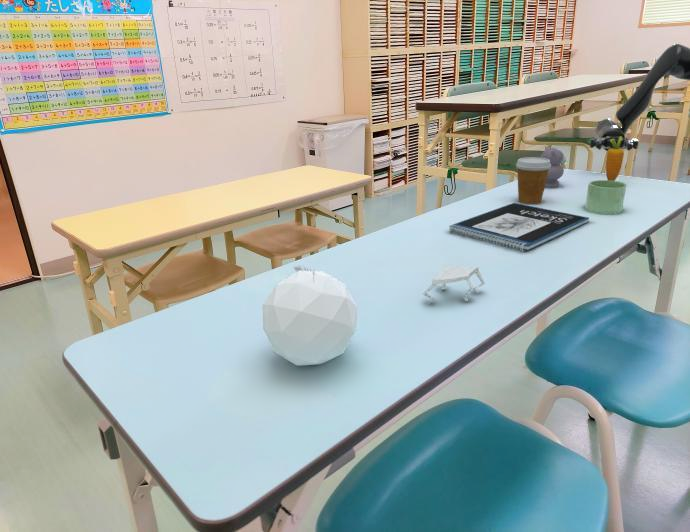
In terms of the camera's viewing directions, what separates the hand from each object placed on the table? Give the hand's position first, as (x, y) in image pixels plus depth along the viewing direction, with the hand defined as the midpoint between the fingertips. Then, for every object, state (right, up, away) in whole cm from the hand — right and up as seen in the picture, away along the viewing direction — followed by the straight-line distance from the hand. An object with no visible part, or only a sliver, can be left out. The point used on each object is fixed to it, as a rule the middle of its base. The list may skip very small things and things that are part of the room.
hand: (614, 146), depth 168 cm
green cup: (-17, -23, -27) cm, 39 cm away
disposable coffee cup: (-33, -20, -16) cm, 42 cm away
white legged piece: (-68, -45, -73) cm, 109 cm away
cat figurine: (-22, -13, -1) cm, 25 cm away
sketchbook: (-44, -29, -38) cm, 65 cm away
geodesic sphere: (-92, -53, -89) cm, 139 cm away
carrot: (-3, -13, -3) cm, 13 cm away
